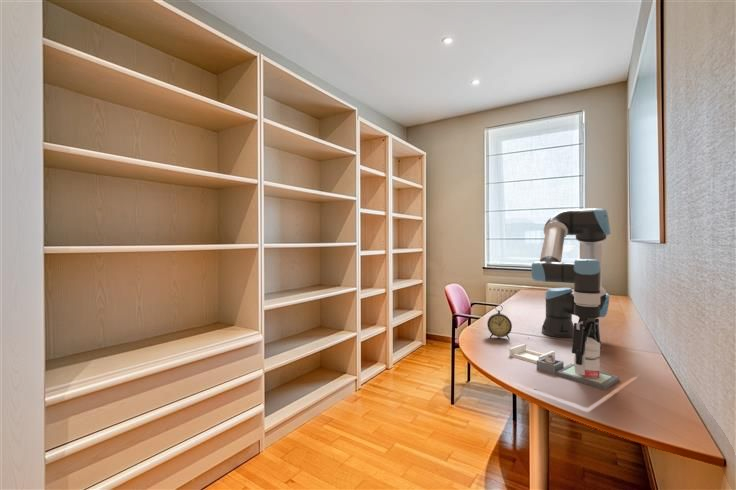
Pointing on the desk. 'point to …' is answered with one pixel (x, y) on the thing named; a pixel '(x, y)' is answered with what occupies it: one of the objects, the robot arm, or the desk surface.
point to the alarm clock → (499, 324)
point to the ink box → (591, 358)
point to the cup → (549, 365)
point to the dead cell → (550, 359)
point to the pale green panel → (601, 378)
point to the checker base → (586, 381)
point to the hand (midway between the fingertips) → (586, 370)
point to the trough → (528, 354)
